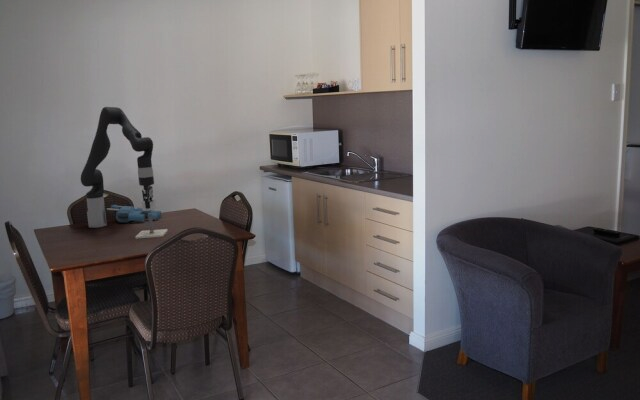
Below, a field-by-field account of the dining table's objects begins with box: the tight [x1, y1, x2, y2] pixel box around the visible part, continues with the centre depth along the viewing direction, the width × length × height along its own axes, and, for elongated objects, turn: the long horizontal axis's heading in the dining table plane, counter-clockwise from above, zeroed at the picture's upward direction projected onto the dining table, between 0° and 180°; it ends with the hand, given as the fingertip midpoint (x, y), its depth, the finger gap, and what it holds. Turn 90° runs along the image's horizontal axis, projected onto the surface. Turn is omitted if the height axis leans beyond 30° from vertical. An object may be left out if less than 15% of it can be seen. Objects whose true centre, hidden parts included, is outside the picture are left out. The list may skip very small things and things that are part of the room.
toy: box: [106, 204, 162, 224], centre depth 344 cm, size 22×9×30 cm
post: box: [135, 214, 169, 239], centre depth 300 cm, size 14×14×11 cm
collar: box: [141, 199, 157, 211], centre depth 298 cm, size 6×6×4 cm
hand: (149, 207), depth 298 cm, fingers closed on collar, 6 cm apart
